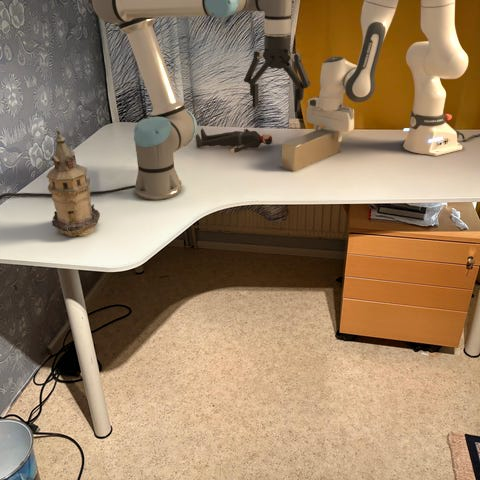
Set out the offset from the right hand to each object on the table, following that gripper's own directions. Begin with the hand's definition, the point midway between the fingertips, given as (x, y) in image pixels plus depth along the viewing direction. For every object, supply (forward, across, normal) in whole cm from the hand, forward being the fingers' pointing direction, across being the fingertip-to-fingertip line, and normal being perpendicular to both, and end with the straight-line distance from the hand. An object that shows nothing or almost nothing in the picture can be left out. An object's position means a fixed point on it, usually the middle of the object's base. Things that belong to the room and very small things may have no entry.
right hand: (328, 138), depth 205 cm
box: (+6, 0, +10) cm, 12 cm away
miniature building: (+5, +14, +100) cm, 101 cm away
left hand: (-22, -10, +42) cm, 48 cm away
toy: (+5, +31, +20) cm, 37 cm away
